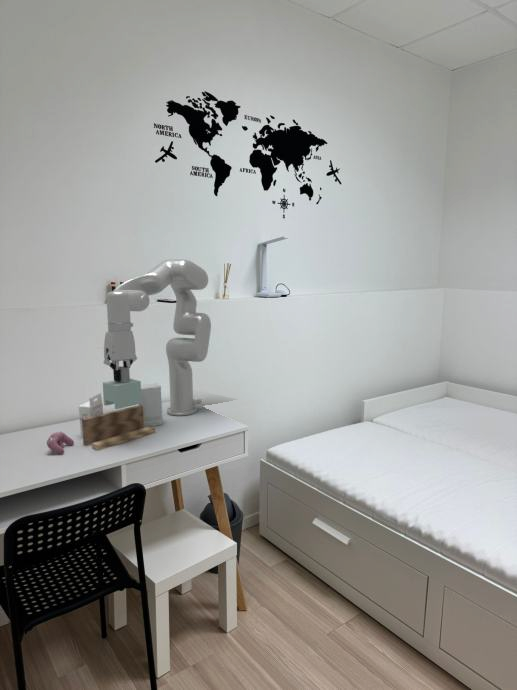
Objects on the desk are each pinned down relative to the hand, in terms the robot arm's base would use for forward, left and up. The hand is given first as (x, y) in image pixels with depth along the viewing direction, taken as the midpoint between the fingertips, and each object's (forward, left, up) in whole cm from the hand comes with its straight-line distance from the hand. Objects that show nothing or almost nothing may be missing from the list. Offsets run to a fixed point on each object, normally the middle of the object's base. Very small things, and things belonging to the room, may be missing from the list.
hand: (121, 379), depth 173 cm
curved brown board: (0, -3, -22) cm, 22 cm away
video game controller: (+19, -9, -22) cm, 31 cm away
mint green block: (0, 0, -9) cm, 9 cm away
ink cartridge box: (+4, -15, -22) cm, 27 cm away
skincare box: (-17, -8, -22) cm, 29 cm away
